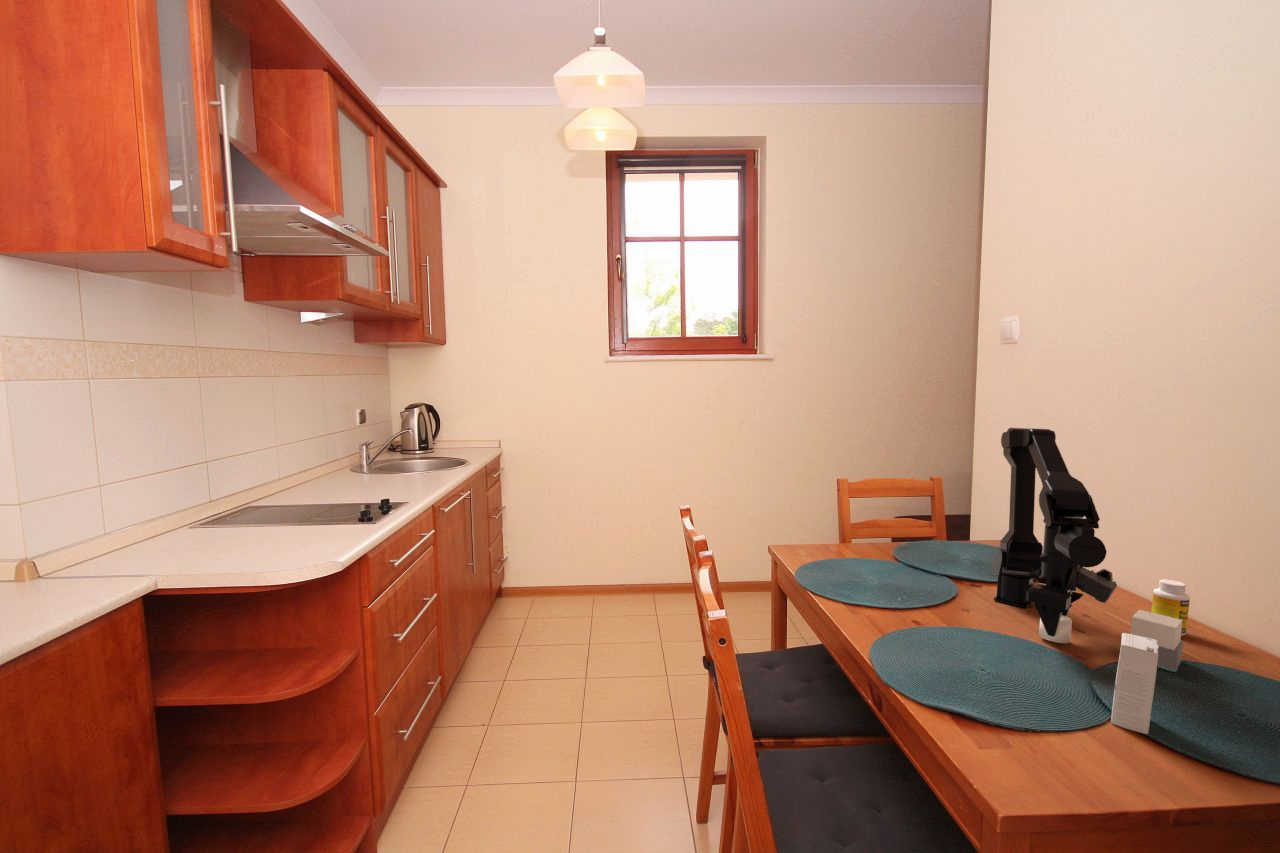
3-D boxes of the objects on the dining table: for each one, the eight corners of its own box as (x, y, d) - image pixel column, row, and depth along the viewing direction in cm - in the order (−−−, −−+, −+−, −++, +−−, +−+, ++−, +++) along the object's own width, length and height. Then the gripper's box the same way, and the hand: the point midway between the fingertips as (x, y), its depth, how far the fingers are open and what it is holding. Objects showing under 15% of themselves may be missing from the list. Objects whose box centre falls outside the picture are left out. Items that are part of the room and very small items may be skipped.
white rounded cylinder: (1035, 636, 115) (1037, 616, 114) (1042, 630, 118) (1044, 610, 118) (1066, 645, 111) (1068, 624, 111) (1073, 638, 115) (1075, 618, 114)
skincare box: (1112, 708, 91) (1119, 630, 90) (1151, 719, 88) (1158, 639, 87) (1110, 725, 86) (1117, 643, 85) (1151, 737, 83) (1159, 652, 82)
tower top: (1130, 638, 108) (1131, 616, 108) (1137, 630, 112) (1139, 609, 112) (1174, 650, 103) (1176, 627, 103) (1180, 641, 107) (1182, 619, 107)
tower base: (1124, 660, 108) (1126, 638, 108) (1131, 649, 113) (1133, 628, 113) (1176, 674, 103) (1178, 651, 103) (1181, 662, 108) (1183, 641, 107)
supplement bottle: (1181, 639, 118) (1185, 588, 117) (1145, 629, 122) (1150, 580, 122) (1190, 633, 121) (1195, 584, 120) (1155, 624, 125) (1159, 576, 125)
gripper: (1103, 572, 101) (1096, 661, 102) (1124, 553, 114) (1117, 633, 115) (1028, 557, 109) (1021, 639, 110) (1054, 541, 122) (1049, 615, 123)
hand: (1054, 632), depth 115 cm, fingers closed on white rounded cylinder, 5 cm apart
